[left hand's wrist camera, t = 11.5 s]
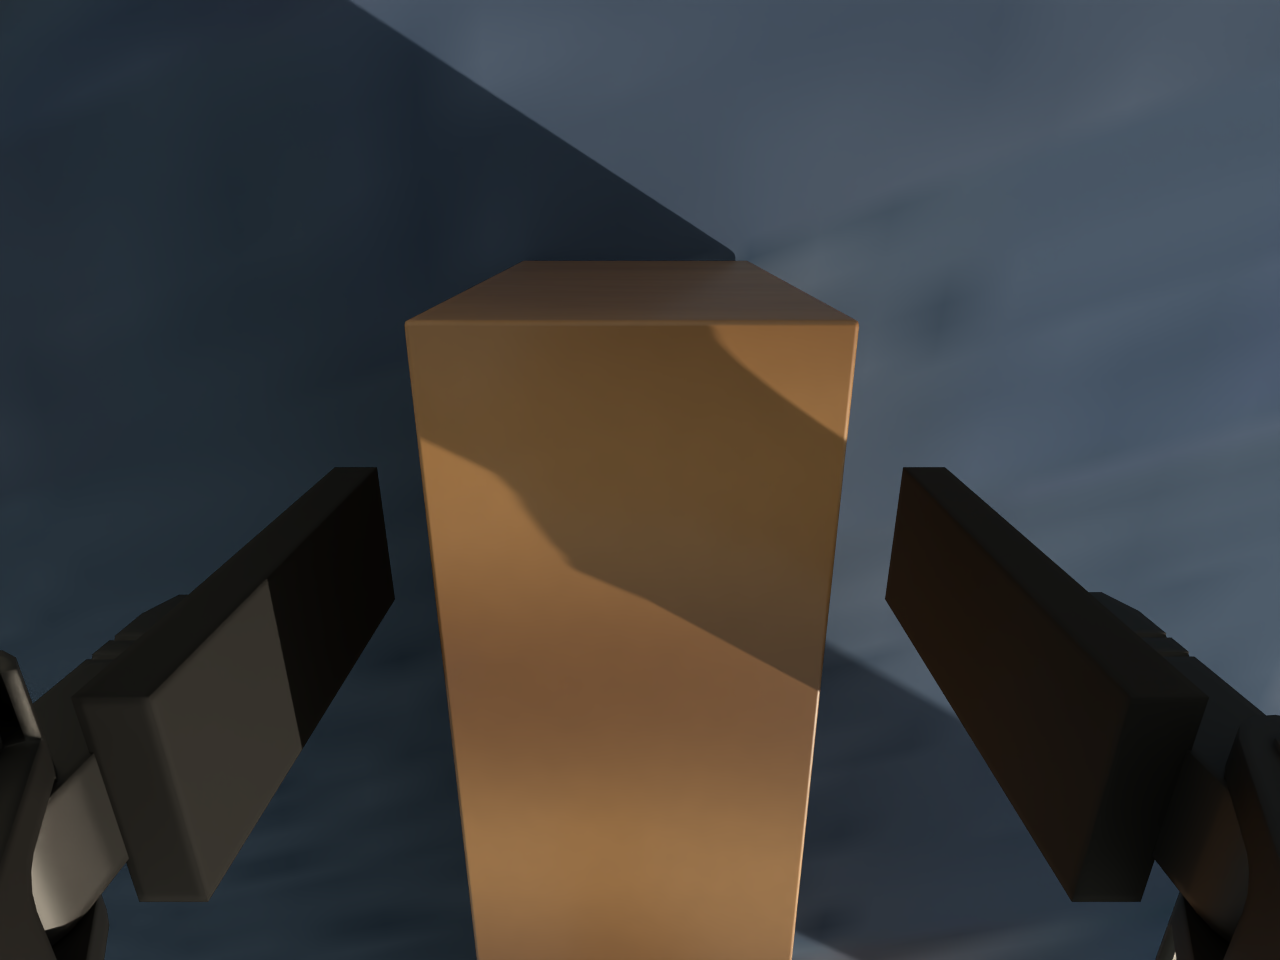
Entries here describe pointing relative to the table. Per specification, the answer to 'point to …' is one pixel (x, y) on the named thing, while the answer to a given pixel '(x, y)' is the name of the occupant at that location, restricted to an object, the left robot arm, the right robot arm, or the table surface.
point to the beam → (632, 596)
